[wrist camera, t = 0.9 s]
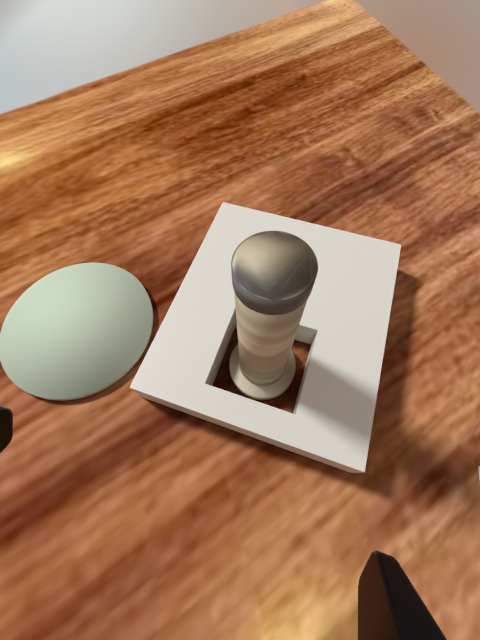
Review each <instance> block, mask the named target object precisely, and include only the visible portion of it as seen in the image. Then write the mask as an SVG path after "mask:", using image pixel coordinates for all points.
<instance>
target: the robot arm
mask: <svg viewBox="0 0 480 640" xmlns="http://www.w3.org/2000/svg"><path fill="white" fill-rule="evenodd" d="M12 436H13V414H12V411H11V410H10V409H8V408H5V407H3V406H0V453H1V452H2V451H3V450H4V449H5V448H6V447H7V446H8V444H9V443H10V441H11V439H12ZM358 640H447V639H446V638H445V636H444V634H443V633H442V631H441V630H440V628H439V626H438V625H437V623H436V622H435V620H434V618H433V617H432V615H431V614H430V612H429V610H428V609H427V607H426V606H425V604H424V603H423V601H422V599H421V598H420V596H419V595H418V593H417V591H416V590H415V588H414V587H413V585H412V583H411V582H410V580H409V579H408V577H407V576H406V574H405V572H404V571H403V569H402V568H401V566H400V564H399V563H398V561H397V560H396V559H395V558H394V557H392V556H390V555H387V554H384V553H382V552H379V551H374V552H372V554H371V555H370V557H369V559H368V561H367V564H366V566H365V568H364V570H363V572H362V574H361V576H360V579H359V585H358Z"/></svg>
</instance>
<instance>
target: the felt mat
mask: <svg viewBox="0 0 480 640" xmlns="http://www.w3.org/2000/svg"><path fill="white" fill-rule="evenodd" d="M153 318H154V316H153V307H152V304H151V300H150V298H149V296H148V293H147V292H146V290H145V288H144V287H143V285H142V284H141V283H140V281H139V280H138V279H137V278H136V277H134V276H133V275H132V274H131V273H129V272H127V271H126V270H124V269H122V268H119V267H117V266H114V265H110V264H104V263H82V264H76V265H72V266H68V267H65V268H62V269H59V270H57V271H54V272H52V273H50V274H48V275H47V276H45V277H43V278H42V279H40V280H38V281H37V282H36V283H35V284H33V285H32V286H31V287H29V288H28V289H27V290H26V291H25V292H24V293H23V294H22V295H21V296H20V297H19V299H18V300H17V301H16V302H15V304H14V305H13V306H12V308H11V309H10V311H9V313H8V315H7V316H6V319H5V321H4V323H3V326H2V329H1V333H0V360H1V363H2V366H3V369H4V371H5V372H6V374H7V376H8V377H9V378H10V379H11V381H12V382H13V383H14V384H15V385H17V386H18V387H19V388H20V389H22V390H24V391H26V392H27V393H29V394H32V395H35V396H37V397H40V398H43V399H49V400H58V401H65V400H75V399H80V398H84V397H87V396H90V395H93V394H96V393H98V392H100V391H102V390H104V389H106V388H108V387H110V386H111V385H113V384H114V383H116V382H117V381H118V380H120V379H121V378H122V377H124V376H125V375H126V374H127V373H128V372H129V371H130V370H131V369H132V368H133V367H134V365H135V364H136V363H137V362H138V360H139V359H140V357H141V356H142V354H143V353H144V351H145V349H146V347H147V345H148V343H149V340H150V337H151V334H152V328H153Z"/></svg>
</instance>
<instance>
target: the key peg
mask: <svg viewBox="0 0 480 640" xmlns="http://www.w3.org/2000/svg"><path fill="white" fill-rule="evenodd" d="M231 272H232V284H233V289H234V294H235V307H236V320H237V334H238V344H237V345H236V346H235V348H234V349H233V351H232V353H231V356H230V361H229V367H230V374H231V378H232V381H233V383H234V385H235V386H236V388H237V389H238V390H239V391H240V392H241V393H242V394H244V395H245V396H247V397H249V398H252V399H255V400H270V399H274V398H276V397H278V396H280V395H281V394H283V393H284V392H285V391H286V390H287V389H288V387H289V386H290V384H291V382H292V380H293V377H294V374H295V369H296V363H295V358H294V355H293V352H292V350H291V348H292V345H293V342H294V339H295V336H296V333H297V330H298V327H299V324H300V321H301V318H302V315H303V312H304V309H305V306H306V302H307V299H308V298H309V296H310V294H311V291H312V288H313V285H314V282H315V279H316V276H317V272H318V262H317V258H316V255H315V253H314V251H313V250H312V248H311V247H310V246H309V245H308V244H307V243H306V242H305V241H304V240H302V239H301V238H299V237H297V236H295V235H293V234H290V233H287V232H282V231H264V232H259V233H256V234H254V235H252V236H250V237H248V238H246V239H245V240H244V241H242V242H241V243H240V244H239V245H238V247H237V248H236V250H235V251H234V253H233V256H232V260H231Z"/></svg>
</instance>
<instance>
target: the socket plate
mask: <svg viewBox="0 0 480 640" xmlns="http://www.w3.org/2000/svg"><path fill="white" fill-rule="evenodd" d="M264 231H282V232H287V233H290V234H293V235H295V236H297V237H299V238H301V239H302V240H304V241H305V242H306V243H307V244H308V245H309V246H310V247H311V248H312V250H313V251H314V253H315V255H316V258H317V262H318V272H317V276H316V279H315V282H314V285H313V288H312V291H311V294H310V296H309V298H308V299H307V302H306V306H305V309H304V312H303V315H302V318H301V321H300V324H299V327H298V330H297V333H296V336H295V339H294V340H297V341H300V342H304V343H307V344H310V345H311V347H310V351H309V355H308V358H307V362H306V366H305V369H304V373H303V377H302V381H301V384H300V388H299V392H298V395H297V399H296V403H295V407H294V410H293V413H290V412H287V411H284V410H281V409H278V408H275V407H272V406H269V405H266V404H263V403H260V402H258V401H255V400H252V399H249V398H246V397H243V396H240V395H237V394H234V393H231V392H228V391H225V390H223V389H220V388H217V387H214V386H213V383H214V380H215V378H216V375H217V373H218V370H219V368H220V365H221V363H222V360H223V357H224V355H225V352H226V350H227V347H228V345H229V342H230V339H231V337H232V334H233V332H234V329H235V327H236V324H237V320H236V307H235V294H234V289H233V284H232V272H231V260H232V256H233V253H234V251H235V250H236V248H237V247H238V245H239V244H240V243H241V242H242V241H244V240H245V239H246V238H248V237H250V236H252V235H254V234H256V233H259V232H264ZM400 249H401V244H396V243H392V242H388V241H384V240H380V239H375V238H371V237H367V236H363V235H359V234H354V233H350V232H346V231H342V230H338V229H333V228H329V227H325V226H321V225H317V224H312V223H308V222H304V221H300V220H296V219H291V218H287V217H283V216H279V215H275V214H270V213H266V212H262V211H258V210H254V209H250V208H245V207H241V206H237V205H233V204H229V203H224V202H223V203H222V205H221V207H220V209H219V211H218V213H217V215H216V217H215V219H214V221H213V223H212V225H211V227H210V229H209V231H208V233H207V235H206V237H205V239H204V241H203V243H202V245H201V247H200V249H199V251H198V253H197V255H196V257H195V259H194V261H193V263H192V265H191V267H190V269H189V271H188V273H187V275H186V277H185V279H184V280H183V282H182V284H181V286H180V288H179V290H178V292H177V294H176V296H175V298H174V300H173V302H172V304H171V306H170V308H169V310H168V312H167V314H166V316H165V318H164V320H163V322H162V324H161V326H160V328H159V330H158V332H157V334H156V336H155V338H154V340H153V342H152V344H151V346H150V348H149V350H148V352H147V354H146V356H145V358H144V360H143V362H142V364H141V366H140V368H139V370H138V372H137V374H136V376H135V378H134V380H133V382H132V384H131V386H130V388H131V389H132V390H133V391H135V392H136V393H137V394H138V395H140V396H141V397H143V398H145V399H148V400H151V401H154V402H156V403H159V404H162V405H165V406H167V407H170V408H173V409H176V410H178V411H181V412H184V413H187V414H189V415H192V416H195V417H198V418H200V419H203V420H206V421H209V422H211V423H214V424H217V425H220V426H223V427H225V428H228V429H231V430H234V431H236V432H239V433H242V434H245V435H247V436H250V437H253V438H256V439H258V440H261V441H264V442H267V443H269V444H272V445H275V446H278V447H280V448H283V449H286V450H289V451H291V452H294V453H297V454H300V455H302V456H305V457H308V458H311V459H313V460H316V461H319V462H322V463H324V464H327V465H330V466H333V467H335V468H338V469H341V470H344V471H346V472H349V473H362V472H365V468H366V461H367V455H368V449H369V443H370V436H371V430H372V424H373V418H374V411H375V405H376V399H377V393H378V386H379V380H380V374H381V368H382V361H383V355H384V349H385V343H386V336H387V330H388V324H389V318H390V311H391V305H392V299H393V293H394V286H395V280H396V274H397V268H398V261H399V255H400Z"/></svg>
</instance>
